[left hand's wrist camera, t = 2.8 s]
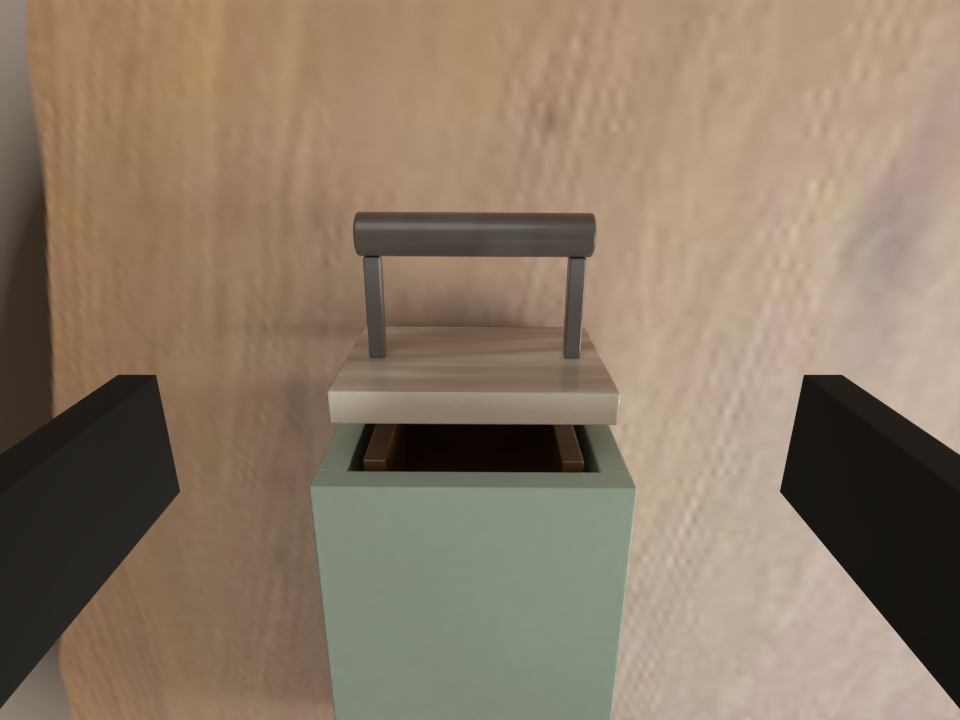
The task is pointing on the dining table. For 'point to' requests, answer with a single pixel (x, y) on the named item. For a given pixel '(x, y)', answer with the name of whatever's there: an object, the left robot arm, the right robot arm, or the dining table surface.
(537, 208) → the dining table surface
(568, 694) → the cabinet
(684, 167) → the dining table surface
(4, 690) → the left robot arm
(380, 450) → the drawer
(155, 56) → the dining table surface
